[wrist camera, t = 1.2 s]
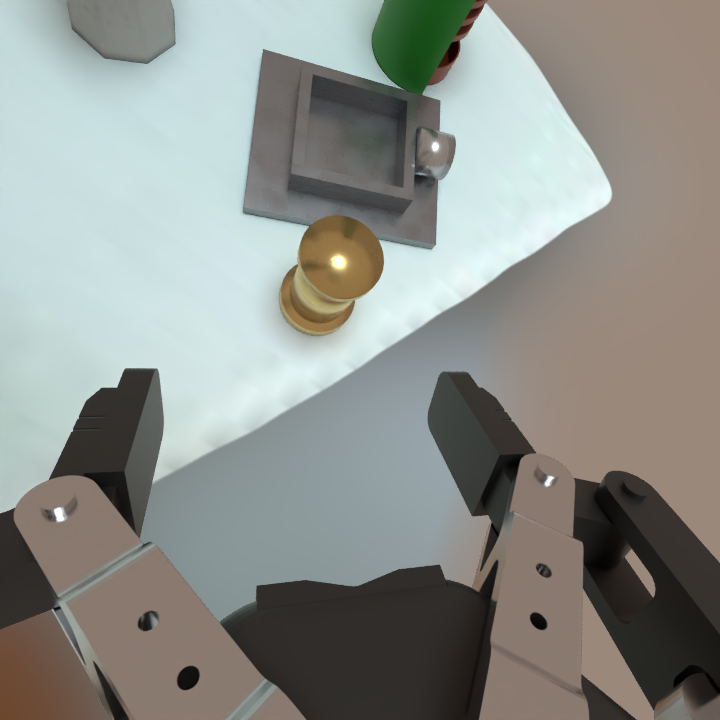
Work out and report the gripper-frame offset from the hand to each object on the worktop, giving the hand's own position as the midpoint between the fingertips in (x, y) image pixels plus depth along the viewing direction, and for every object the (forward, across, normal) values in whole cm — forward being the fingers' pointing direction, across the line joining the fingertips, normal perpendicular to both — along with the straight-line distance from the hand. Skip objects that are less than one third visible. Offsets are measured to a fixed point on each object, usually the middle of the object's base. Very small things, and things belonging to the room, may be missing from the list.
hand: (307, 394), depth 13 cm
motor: (+45, -15, -11) cm, 49 cm away
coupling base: (+35, -8, -2) cm, 36 cm away
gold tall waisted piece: (+25, -4, +9) cm, 27 cm away
